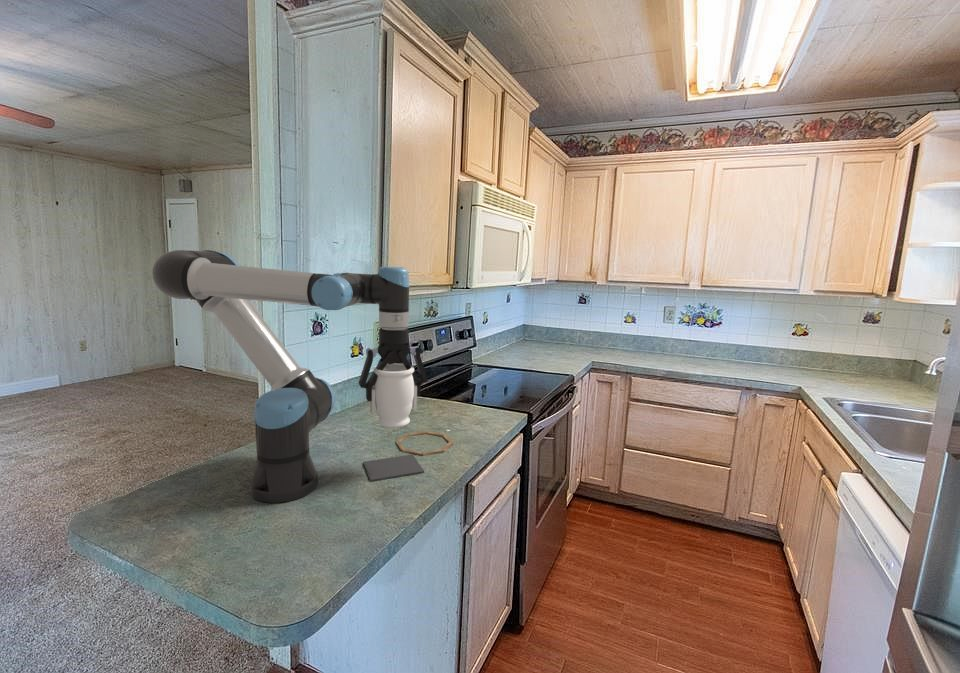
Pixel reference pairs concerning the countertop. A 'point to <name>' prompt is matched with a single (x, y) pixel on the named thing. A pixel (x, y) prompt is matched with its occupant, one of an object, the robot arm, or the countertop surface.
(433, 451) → the cork ring
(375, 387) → the jar
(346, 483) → the countertop surface
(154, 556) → the countertop surface
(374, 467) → the mat
